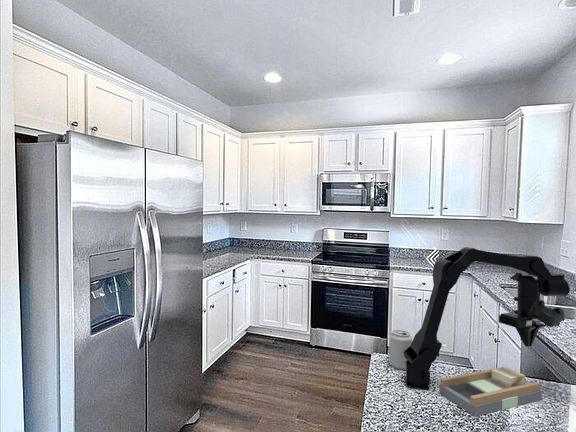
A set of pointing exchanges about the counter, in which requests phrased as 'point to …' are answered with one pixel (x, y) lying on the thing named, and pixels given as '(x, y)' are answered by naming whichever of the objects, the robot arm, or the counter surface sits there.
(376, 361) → the counter surface
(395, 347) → the can
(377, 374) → the counter surface
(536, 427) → the counter surface
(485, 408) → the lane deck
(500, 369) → the maple block
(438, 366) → the counter surface
